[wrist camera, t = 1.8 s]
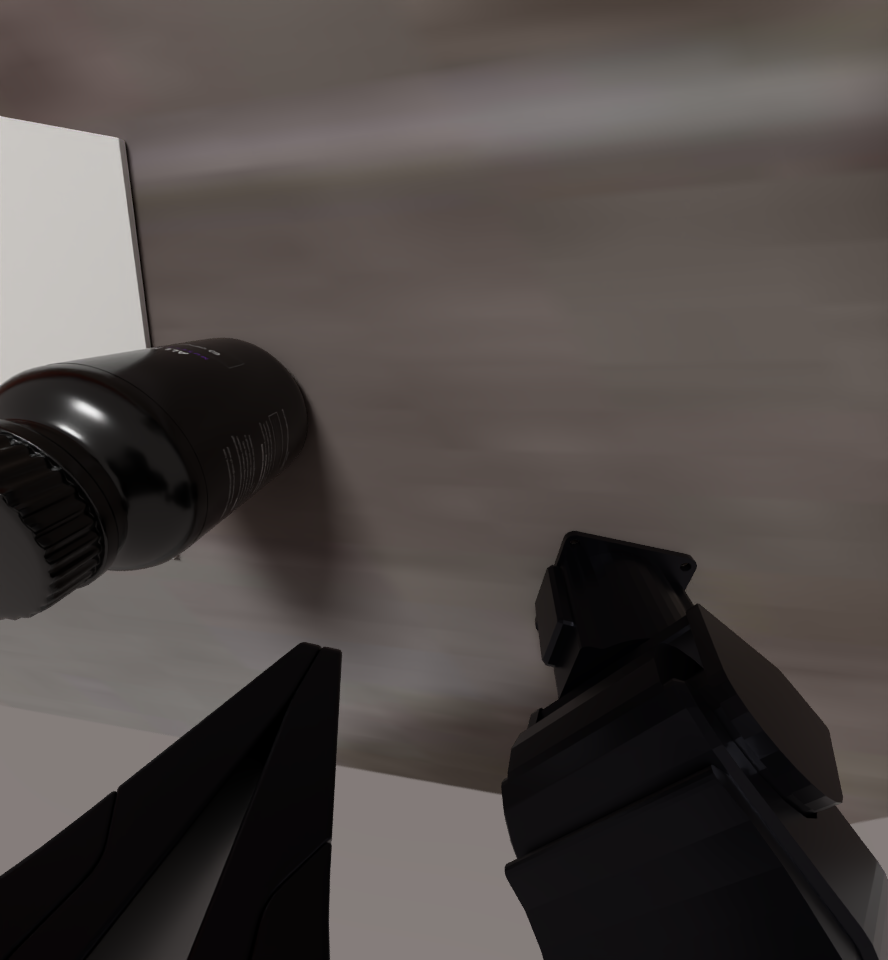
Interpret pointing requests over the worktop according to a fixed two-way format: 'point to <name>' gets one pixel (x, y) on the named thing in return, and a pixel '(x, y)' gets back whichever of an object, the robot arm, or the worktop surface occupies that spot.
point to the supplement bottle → (133, 459)
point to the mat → (66, 248)
